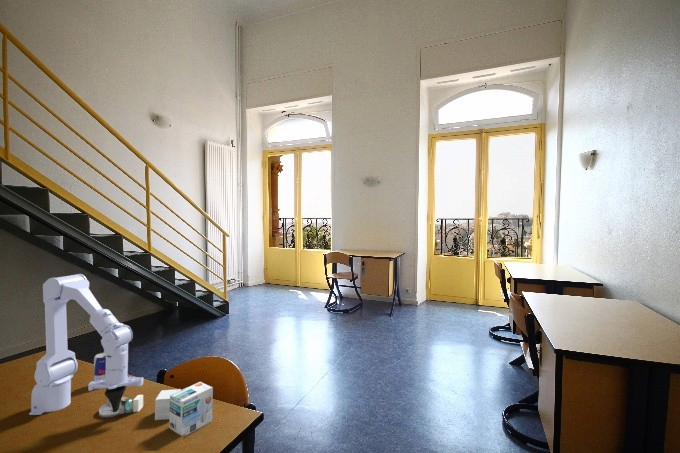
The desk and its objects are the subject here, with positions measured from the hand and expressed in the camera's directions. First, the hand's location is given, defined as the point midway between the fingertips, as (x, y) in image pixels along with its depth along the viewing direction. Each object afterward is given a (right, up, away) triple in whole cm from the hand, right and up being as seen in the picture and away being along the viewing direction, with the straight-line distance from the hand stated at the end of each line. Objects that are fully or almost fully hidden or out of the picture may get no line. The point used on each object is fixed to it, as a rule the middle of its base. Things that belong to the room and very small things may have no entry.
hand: (116, 410), depth 104 cm
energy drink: (-18, -3, +20) cm, 27 cm away
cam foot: (-2, -2, +3) cm, 4 cm away
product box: (+15, -4, +3) cm, 16 cm away
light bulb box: (+24, -4, -2) cm, 25 cm away
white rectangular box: (+4, -2, +5) cm, 7 cm away
